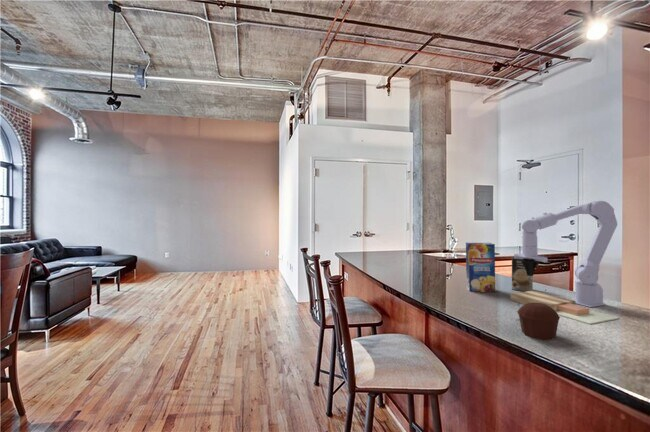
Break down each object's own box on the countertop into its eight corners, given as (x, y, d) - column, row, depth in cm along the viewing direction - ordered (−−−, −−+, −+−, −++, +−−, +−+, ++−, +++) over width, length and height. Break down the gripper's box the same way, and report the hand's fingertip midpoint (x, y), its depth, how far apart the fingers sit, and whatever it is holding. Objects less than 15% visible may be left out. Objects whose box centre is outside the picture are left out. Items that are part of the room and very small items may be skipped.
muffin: (534, 326, 106) (534, 297, 106) (569, 338, 96) (568, 306, 96) (509, 331, 102) (508, 301, 102) (542, 344, 92) (541, 311, 92)
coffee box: (511, 289, 156) (511, 258, 156) (511, 287, 161) (511, 256, 161) (533, 292, 151) (532, 259, 151) (532, 289, 156) (532, 257, 156)
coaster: (569, 308, 124) (569, 303, 124) (589, 313, 117) (589, 308, 117) (557, 310, 121) (557, 305, 121) (576, 315, 115) (576, 310, 115)
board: (533, 296, 142) (533, 290, 142) (575, 308, 125) (575, 300, 125) (510, 300, 138) (510, 293, 138) (551, 312, 121) (551, 304, 121)
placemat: (579, 308, 124) (579, 307, 124) (619, 318, 112) (619, 317, 112) (552, 313, 119) (551, 312, 119) (589, 324, 107) (589, 323, 107)
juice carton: (469, 291, 154) (468, 244, 154) (466, 287, 161) (465, 242, 161) (495, 292, 151) (494, 244, 151) (491, 288, 158) (490, 242, 158)
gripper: (509, 245, 146) (509, 273, 146) (539, 248, 132) (539, 279, 132) (520, 244, 148) (520, 272, 148) (550, 247, 134) (551, 278, 134)
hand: (530, 275), depth 140 cm, fingers closed
